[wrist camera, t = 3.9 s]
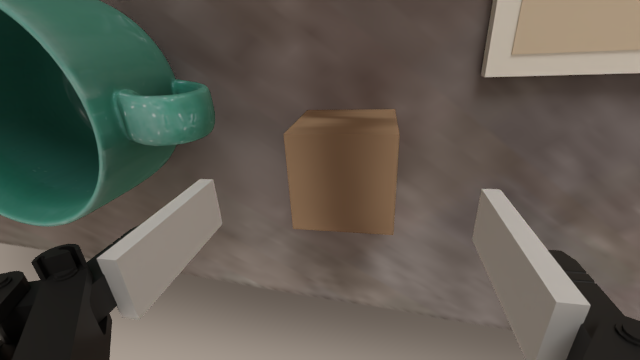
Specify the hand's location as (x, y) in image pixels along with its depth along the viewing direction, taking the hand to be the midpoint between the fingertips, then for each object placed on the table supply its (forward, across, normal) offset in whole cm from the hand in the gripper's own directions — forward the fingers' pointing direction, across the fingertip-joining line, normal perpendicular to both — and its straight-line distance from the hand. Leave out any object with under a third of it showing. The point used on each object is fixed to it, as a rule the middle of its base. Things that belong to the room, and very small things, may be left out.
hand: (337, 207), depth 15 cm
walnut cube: (+8, 0, 0) cm, 8 cm away
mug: (+8, -15, +5) cm, 18 cm away
